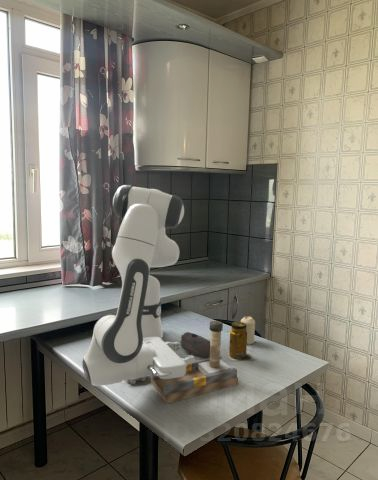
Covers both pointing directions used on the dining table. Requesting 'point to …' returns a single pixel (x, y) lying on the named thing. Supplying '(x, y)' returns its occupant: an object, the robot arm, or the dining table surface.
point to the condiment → (238, 343)
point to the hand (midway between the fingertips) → (186, 351)
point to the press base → (193, 382)
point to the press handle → (214, 351)
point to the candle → (249, 329)
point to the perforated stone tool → (195, 345)
